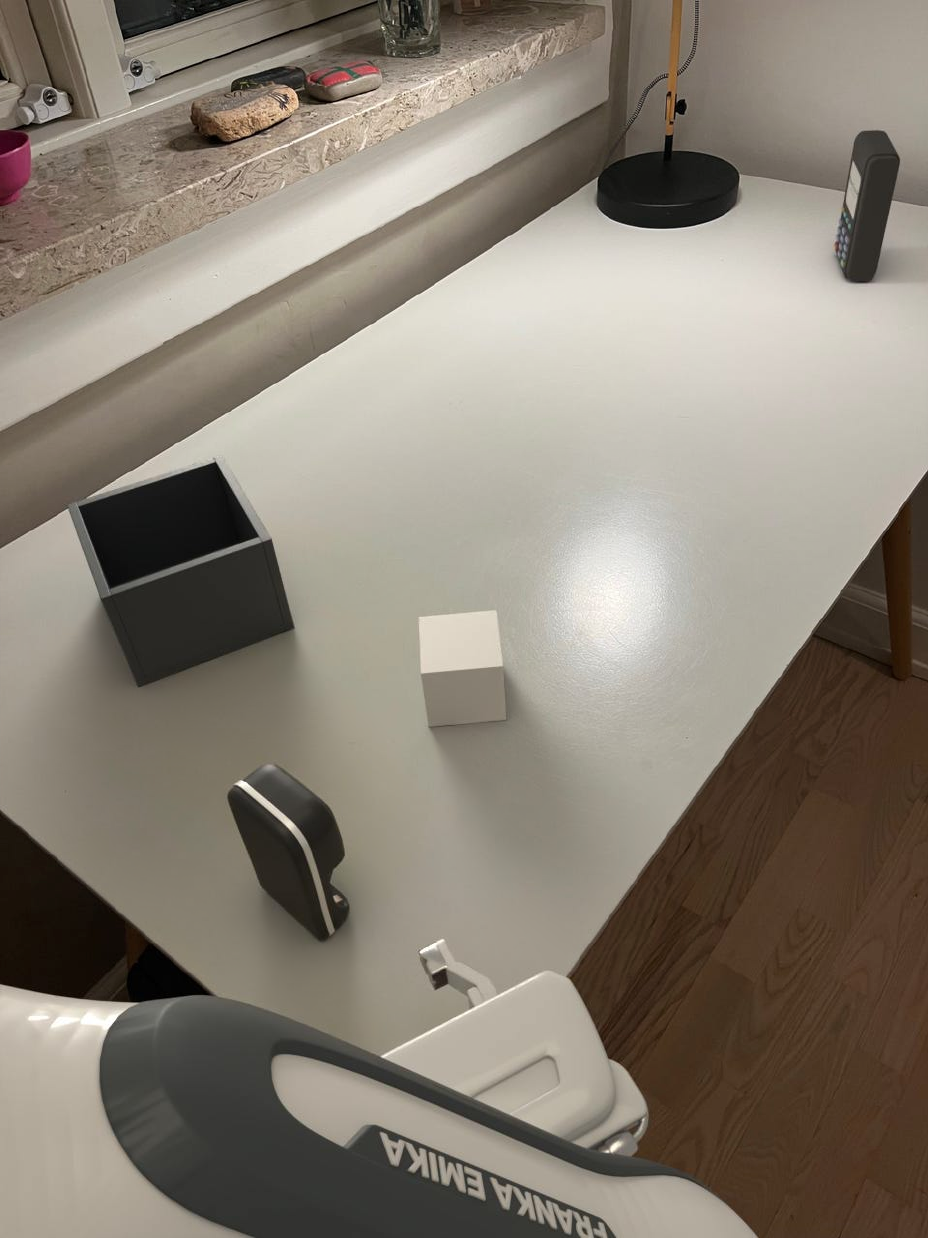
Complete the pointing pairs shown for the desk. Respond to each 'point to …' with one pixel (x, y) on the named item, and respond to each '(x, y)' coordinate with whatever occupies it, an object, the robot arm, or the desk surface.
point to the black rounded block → (291, 845)
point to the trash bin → (182, 568)
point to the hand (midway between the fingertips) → (350, 989)
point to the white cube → (462, 668)
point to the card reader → (866, 204)
